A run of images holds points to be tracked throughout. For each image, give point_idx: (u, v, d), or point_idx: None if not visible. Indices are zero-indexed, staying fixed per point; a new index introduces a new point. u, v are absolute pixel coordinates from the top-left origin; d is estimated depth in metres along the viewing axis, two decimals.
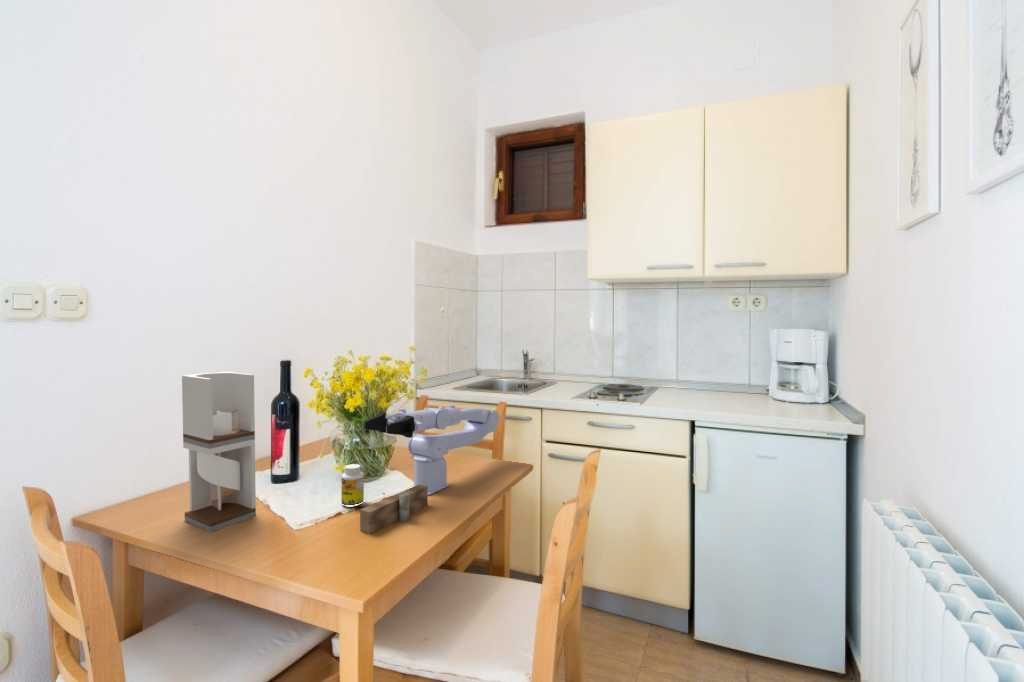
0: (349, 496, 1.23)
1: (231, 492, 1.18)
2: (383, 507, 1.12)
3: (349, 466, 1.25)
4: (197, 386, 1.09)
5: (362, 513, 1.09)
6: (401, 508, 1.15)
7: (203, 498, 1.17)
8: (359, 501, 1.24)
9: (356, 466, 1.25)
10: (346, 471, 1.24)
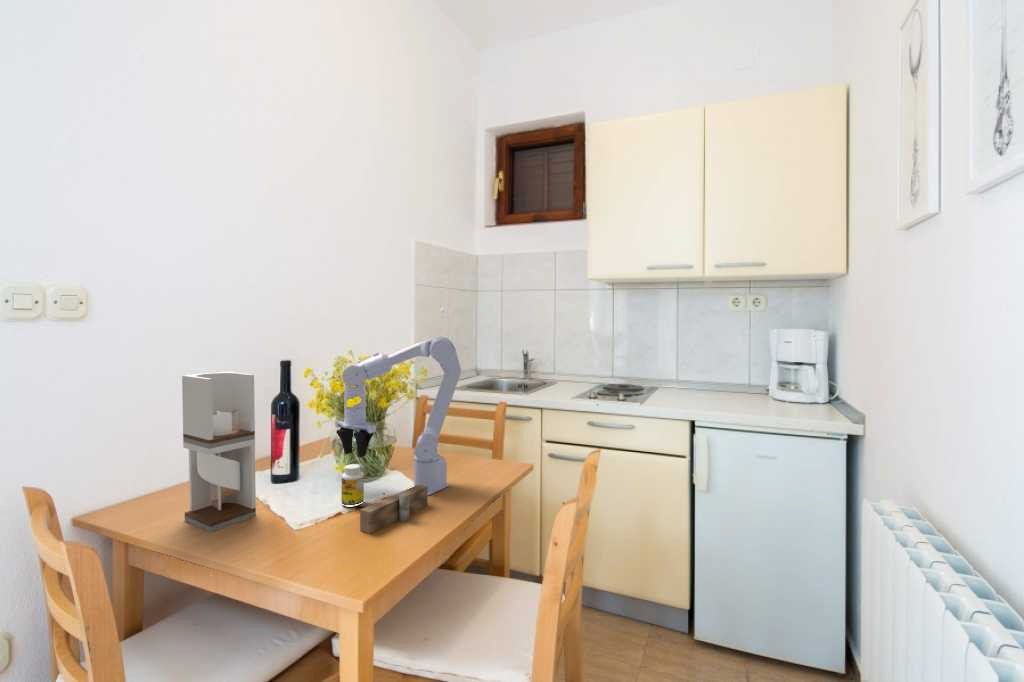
0: (349, 496, 1.23)
1: (231, 492, 1.18)
2: (383, 507, 1.12)
3: (349, 466, 1.25)
4: (197, 386, 1.09)
5: (362, 513, 1.09)
6: (401, 508, 1.15)
7: (203, 498, 1.17)
8: (359, 501, 1.24)
9: (356, 466, 1.25)
10: (346, 471, 1.24)
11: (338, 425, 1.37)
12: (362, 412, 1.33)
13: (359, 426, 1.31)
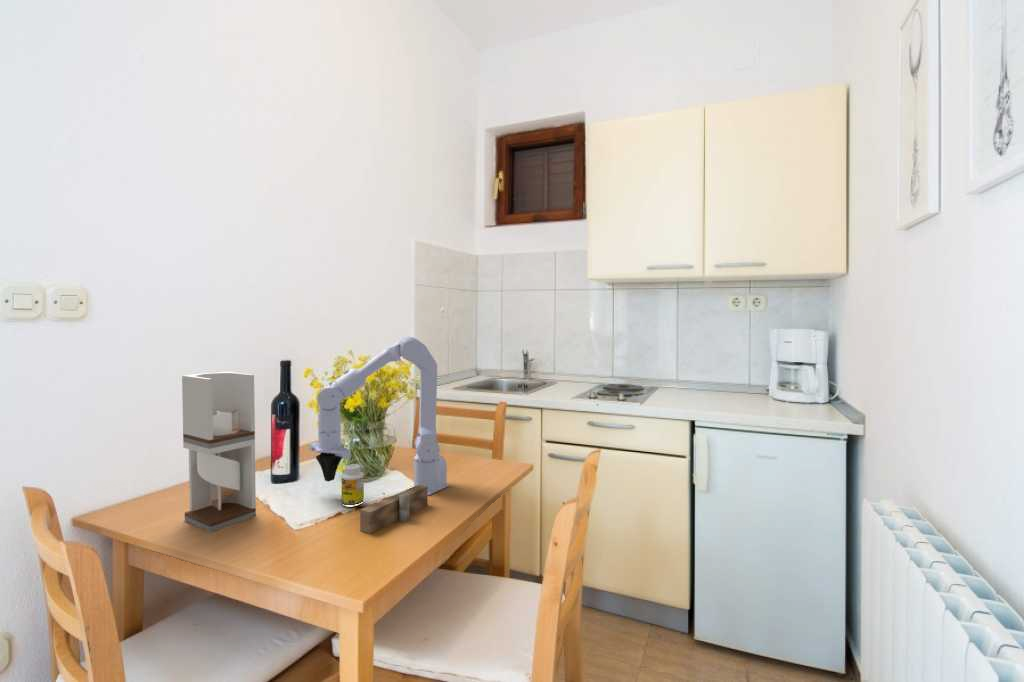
0: (349, 496, 1.23)
1: (231, 492, 1.18)
2: (383, 507, 1.12)
3: (349, 466, 1.25)
4: (197, 386, 1.09)
5: (362, 513, 1.09)
6: (401, 508, 1.15)
7: (203, 498, 1.17)
8: (359, 501, 1.24)
9: (356, 466, 1.25)
10: (346, 471, 1.24)
11: (312, 449, 1.32)
12: (337, 437, 1.28)
13: (333, 451, 1.26)
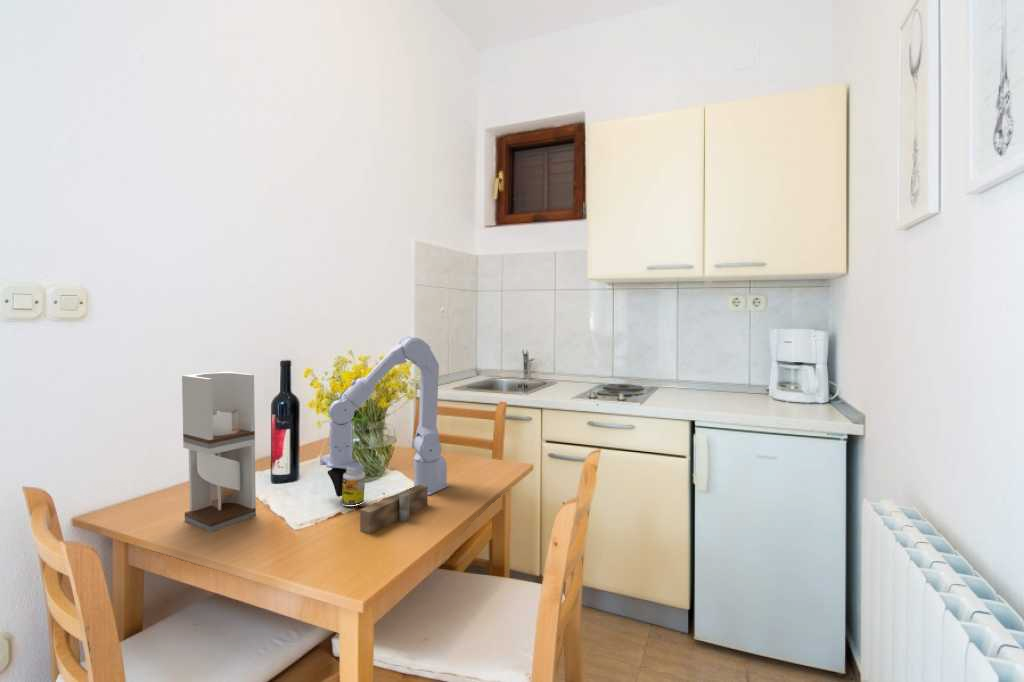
0: (350, 496, 1.23)
1: (231, 492, 1.18)
2: (383, 507, 1.12)
3: None
4: (197, 386, 1.09)
5: (362, 513, 1.09)
6: (401, 508, 1.15)
7: (203, 498, 1.17)
8: (359, 501, 1.24)
9: None
10: (348, 471, 1.23)
11: (323, 463, 1.30)
12: (348, 451, 1.26)
13: (345, 466, 1.24)
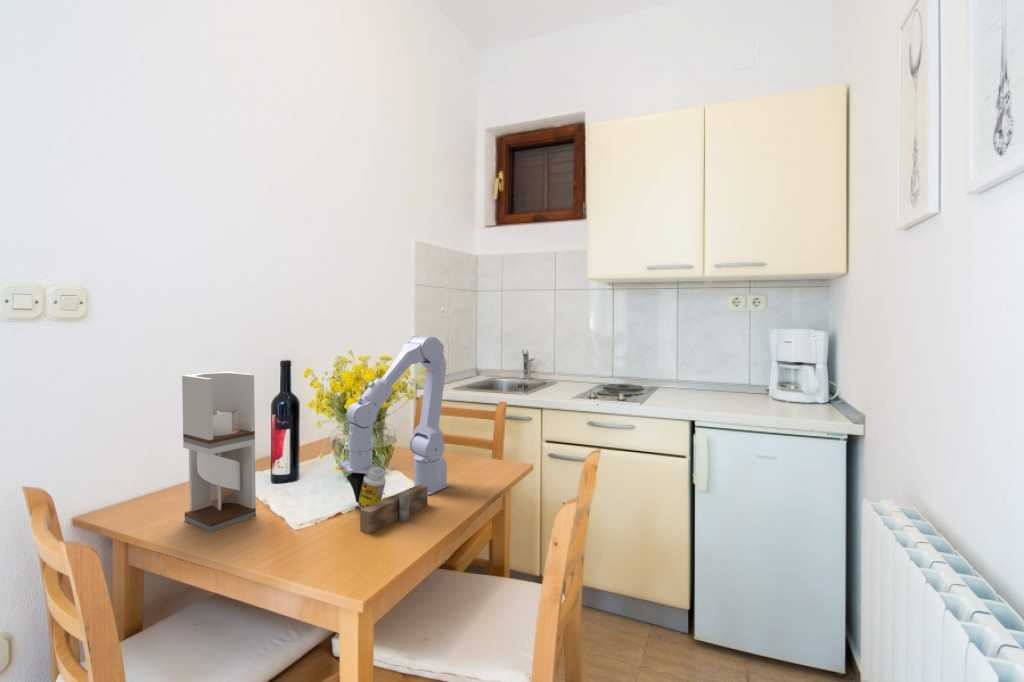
0: (368, 500, 1.19)
1: (231, 492, 1.18)
2: (383, 507, 1.12)
3: (373, 470, 1.20)
4: (197, 386, 1.09)
5: (362, 513, 1.09)
6: (401, 508, 1.15)
7: (203, 498, 1.17)
8: None
9: None
10: (370, 475, 1.19)
11: (342, 468, 1.26)
12: (368, 456, 1.22)
13: (365, 471, 1.20)
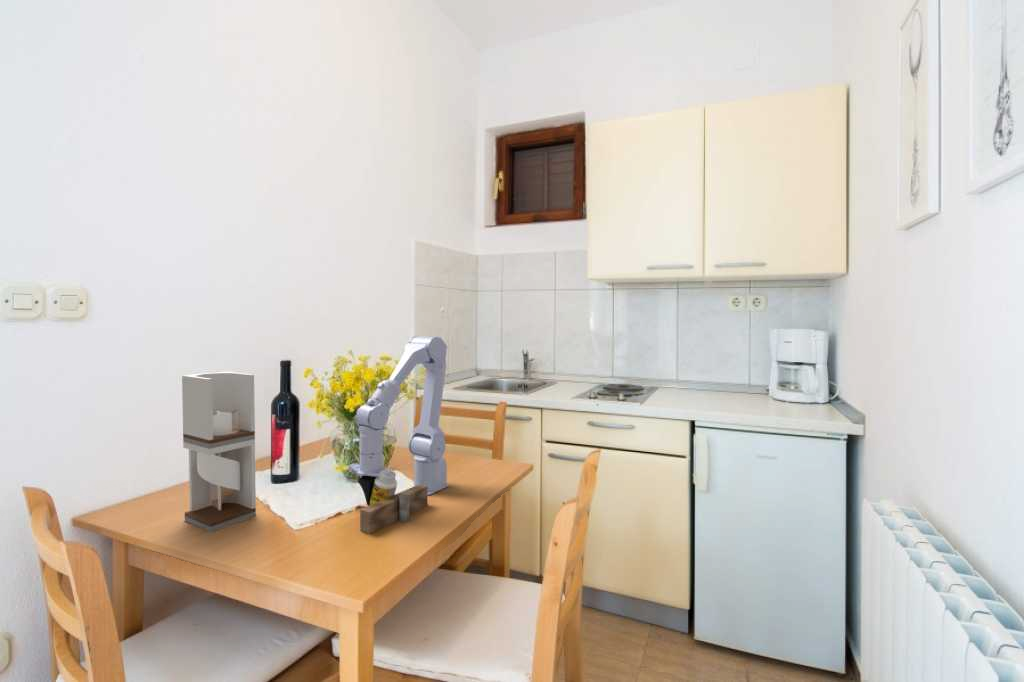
0: None
1: (231, 492, 1.18)
2: (383, 507, 1.12)
3: (384, 473, 1.18)
4: (197, 386, 1.09)
5: (362, 513, 1.09)
6: (401, 508, 1.15)
7: (203, 498, 1.17)
8: None
9: None
10: (381, 478, 1.17)
11: (352, 470, 1.24)
12: (379, 458, 1.20)
13: (376, 474, 1.18)
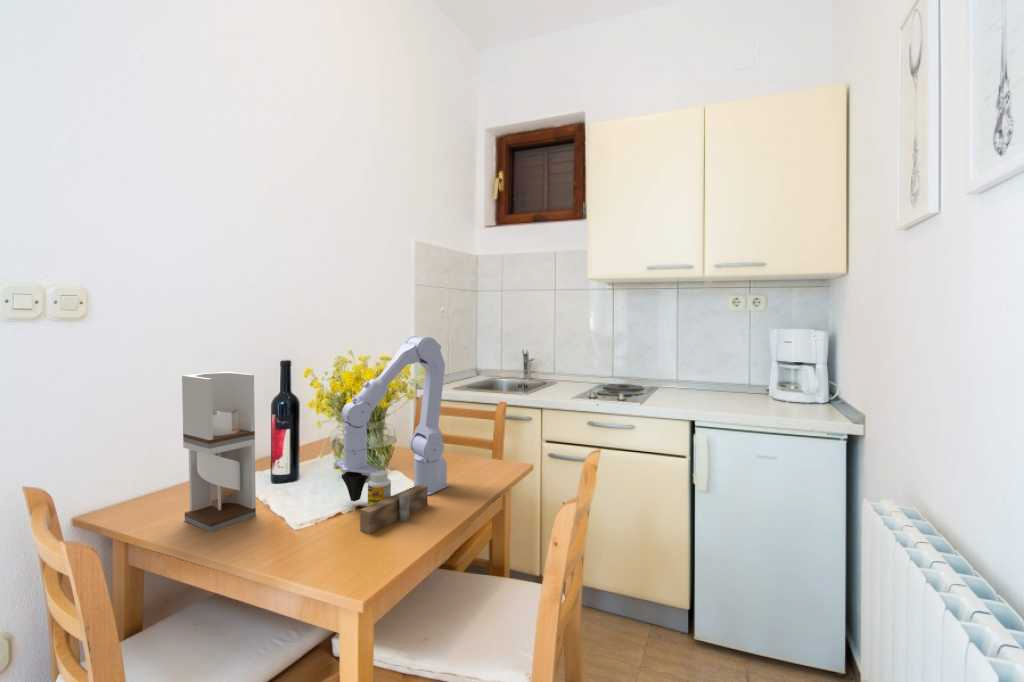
0: None
1: (231, 492, 1.18)
2: (383, 507, 1.12)
3: (376, 473, 1.20)
4: (197, 386, 1.09)
5: (362, 513, 1.09)
6: (401, 508, 1.15)
7: (203, 498, 1.17)
8: None
9: (383, 472, 1.20)
10: (373, 478, 1.19)
11: (337, 467, 1.27)
12: (363, 455, 1.23)
13: (360, 470, 1.21)
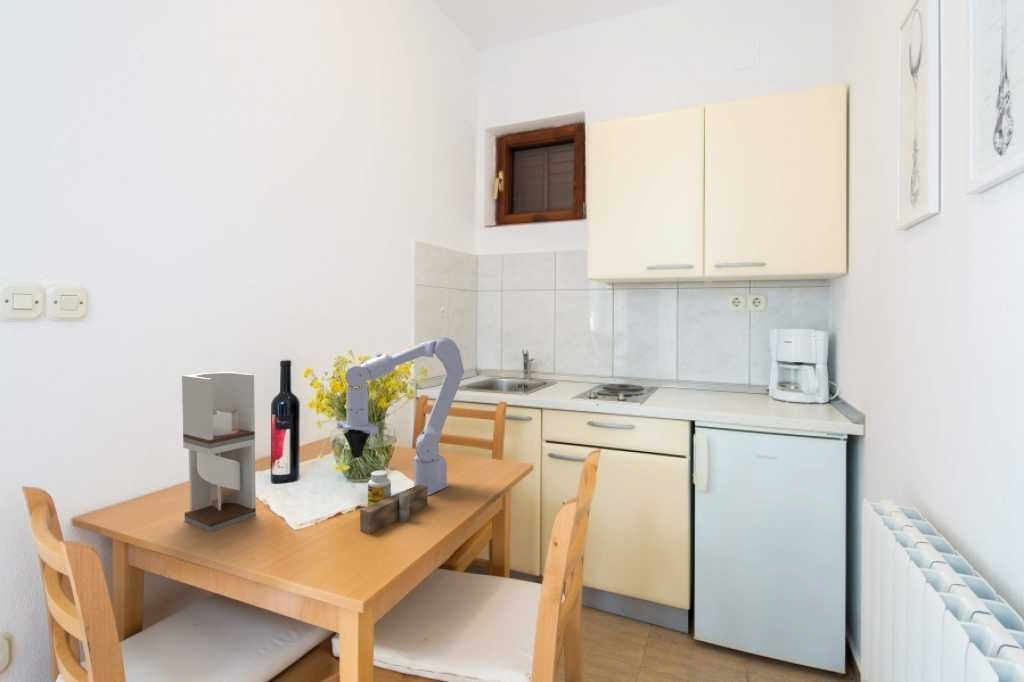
0: None
1: (231, 492, 1.18)
2: (383, 507, 1.12)
3: (376, 473, 1.20)
4: (197, 386, 1.09)
5: (362, 513, 1.09)
6: (401, 508, 1.15)
7: (203, 498, 1.17)
8: None
9: (383, 473, 1.20)
10: (373, 478, 1.19)
11: (340, 427, 1.35)
12: (364, 414, 1.31)
13: (361, 428, 1.29)
